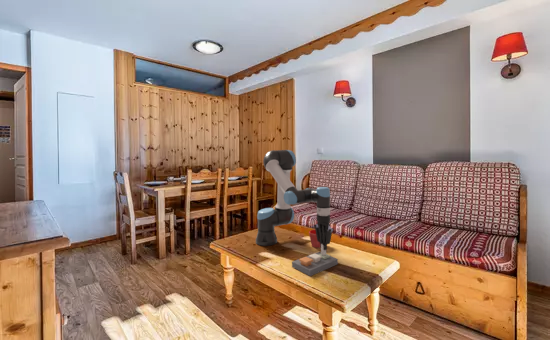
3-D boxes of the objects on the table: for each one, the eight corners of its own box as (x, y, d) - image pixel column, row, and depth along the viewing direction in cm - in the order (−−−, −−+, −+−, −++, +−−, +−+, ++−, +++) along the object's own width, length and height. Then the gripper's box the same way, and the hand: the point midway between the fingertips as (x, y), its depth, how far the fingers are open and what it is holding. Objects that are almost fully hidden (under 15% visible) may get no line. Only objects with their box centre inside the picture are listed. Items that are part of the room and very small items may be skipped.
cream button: (308, 260, 147) (308, 255, 147) (314, 258, 150) (314, 253, 150) (315, 263, 143) (315, 258, 143) (321, 261, 146) (321, 256, 146)
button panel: (292, 266, 146) (292, 261, 146) (319, 256, 159) (319, 251, 159) (310, 276, 135) (310, 270, 134) (337, 264, 148) (337, 258, 148)
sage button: (317, 259, 152) (317, 254, 151) (323, 257, 155) (323, 252, 154) (323, 262, 147) (323, 257, 147) (330, 260, 151) (330, 255, 150)
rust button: (299, 264, 143) (299, 259, 143) (306, 261, 146) (306, 256, 146) (306, 267, 139) (305, 262, 139) (312, 264, 142) (312, 259, 142)
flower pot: (307, 243, 181) (307, 229, 181) (323, 242, 182) (323, 228, 182) (311, 249, 171) (310, 234, 170) (327, 248, 172) (327, 233, 171)
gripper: (310, 213, 152) (310, 253, 154) (327, 217, 141) (328, 260, 143) (319, 211, 156) (319, 249, 158) (336, 215, 146) (336, 256, 148)
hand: (323, 254), depth 151 cm, fingers closed
